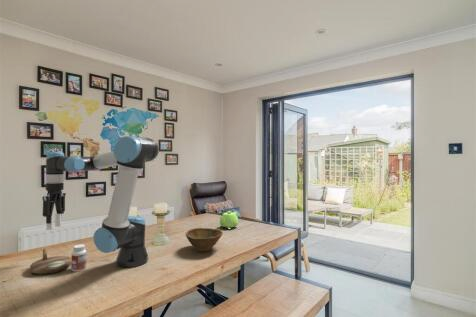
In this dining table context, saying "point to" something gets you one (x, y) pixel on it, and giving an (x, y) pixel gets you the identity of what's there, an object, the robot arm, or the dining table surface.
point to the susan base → (52, 272)
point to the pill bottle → (78, 258)
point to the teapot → (229, 219)
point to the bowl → (203, 238)
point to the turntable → (50, 264)
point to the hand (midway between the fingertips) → (53, 227)
